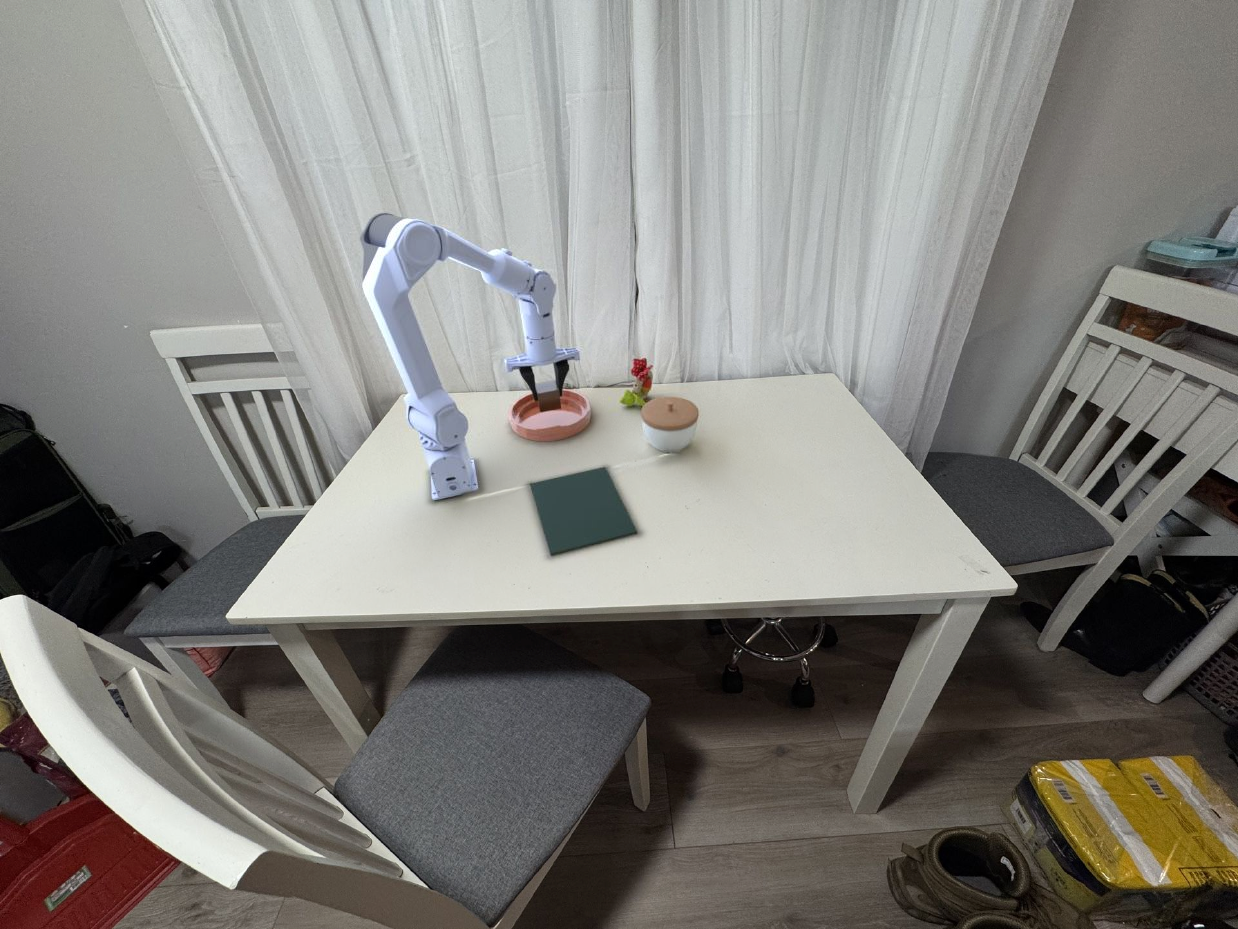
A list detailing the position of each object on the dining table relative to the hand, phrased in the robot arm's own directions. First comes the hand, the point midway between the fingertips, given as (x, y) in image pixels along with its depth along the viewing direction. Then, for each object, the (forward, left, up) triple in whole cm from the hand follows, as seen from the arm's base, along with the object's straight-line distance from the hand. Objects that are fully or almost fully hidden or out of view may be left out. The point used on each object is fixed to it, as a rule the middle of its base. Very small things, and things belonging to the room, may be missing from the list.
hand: (547, 396), depth 106 cm
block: (0, 0, -2) cm, 2 cm away
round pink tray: (0, 0, -6) cm, 6 cm away
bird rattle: (0, -20, -6) cm, 21 cm away
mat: (-29, +1, -6) cm, 30 cm away
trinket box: (-17, -20, -6) cm, 27 cm away
